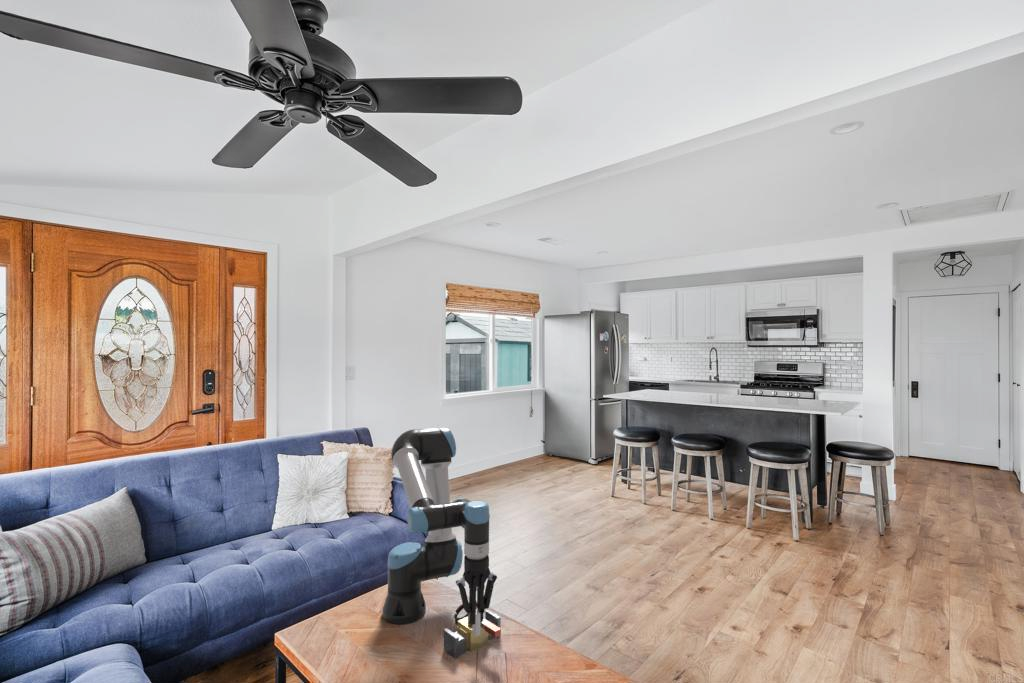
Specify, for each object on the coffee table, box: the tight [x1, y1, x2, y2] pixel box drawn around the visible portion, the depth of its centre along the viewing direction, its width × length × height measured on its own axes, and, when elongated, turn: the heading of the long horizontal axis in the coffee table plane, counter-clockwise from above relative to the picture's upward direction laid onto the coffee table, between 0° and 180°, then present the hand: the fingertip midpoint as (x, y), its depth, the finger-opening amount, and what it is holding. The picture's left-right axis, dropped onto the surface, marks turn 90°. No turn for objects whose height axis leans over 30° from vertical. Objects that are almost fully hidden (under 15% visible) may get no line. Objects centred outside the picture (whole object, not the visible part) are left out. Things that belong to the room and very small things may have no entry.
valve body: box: [443, 609, 502, 661], centre depth 159 cm, size 7×18×7 cm, turn 132°
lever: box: [468, 613, 502, 639], centre depth 155 cm, size 14×3×2 cm, turn 42°
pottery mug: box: [453, 601, 478, 627], centre depth 171 cm, size 12×10×8 cm
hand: (476, 633), depth 150 cm, fingers closed
